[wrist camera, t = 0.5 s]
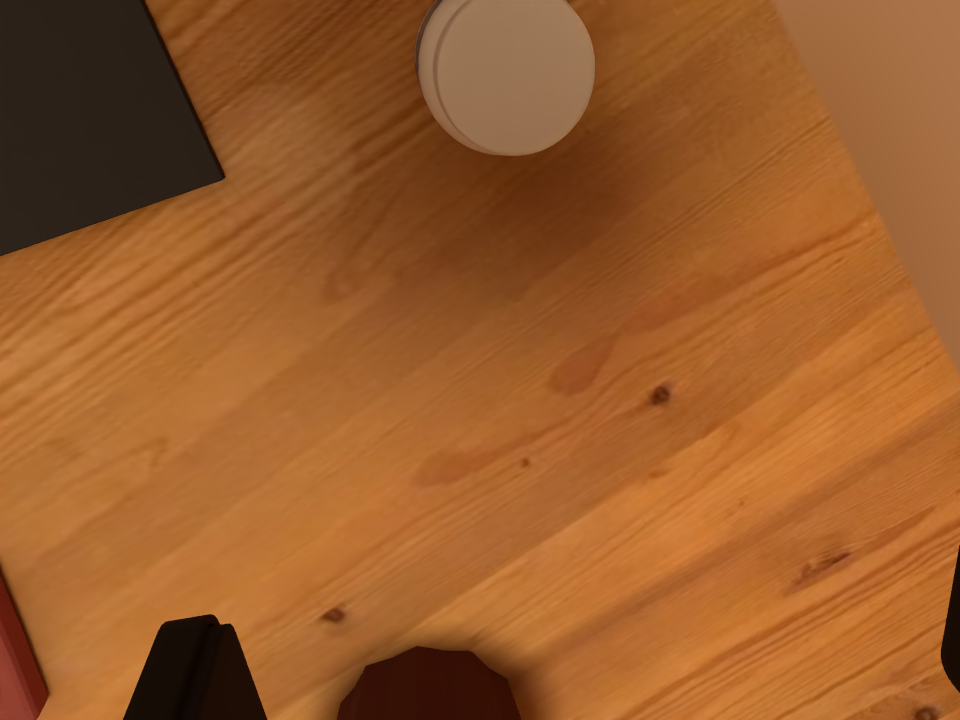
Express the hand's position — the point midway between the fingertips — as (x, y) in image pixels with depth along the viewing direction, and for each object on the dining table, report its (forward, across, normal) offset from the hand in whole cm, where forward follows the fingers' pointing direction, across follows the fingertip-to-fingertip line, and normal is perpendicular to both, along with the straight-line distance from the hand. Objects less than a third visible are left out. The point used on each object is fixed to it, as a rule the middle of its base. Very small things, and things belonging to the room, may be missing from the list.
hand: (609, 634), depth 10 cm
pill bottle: (+21, -1, -6) cm, 22 cm away
